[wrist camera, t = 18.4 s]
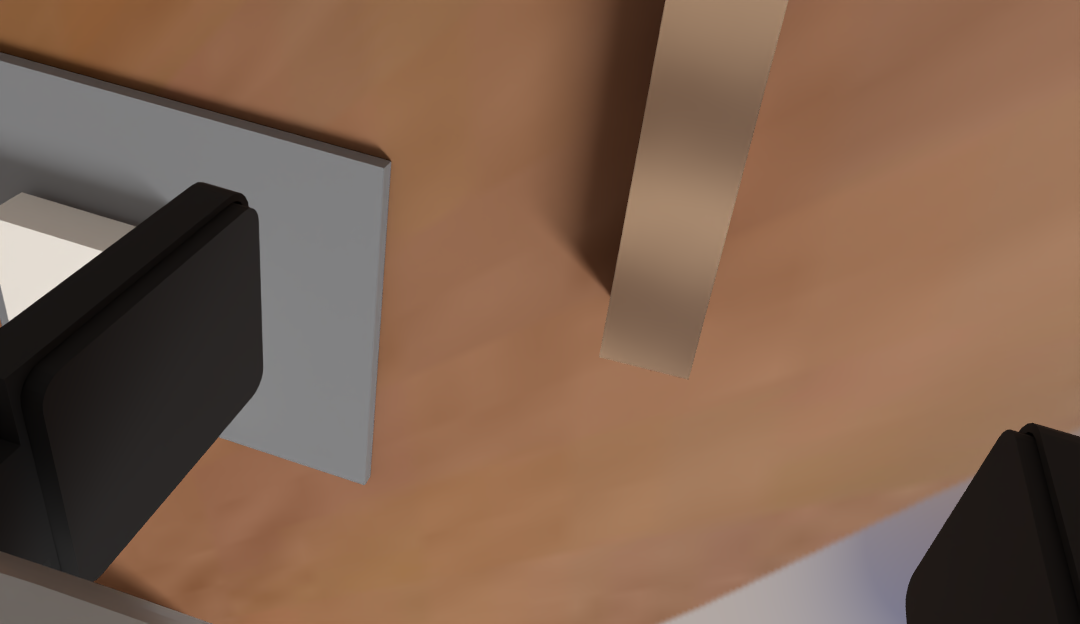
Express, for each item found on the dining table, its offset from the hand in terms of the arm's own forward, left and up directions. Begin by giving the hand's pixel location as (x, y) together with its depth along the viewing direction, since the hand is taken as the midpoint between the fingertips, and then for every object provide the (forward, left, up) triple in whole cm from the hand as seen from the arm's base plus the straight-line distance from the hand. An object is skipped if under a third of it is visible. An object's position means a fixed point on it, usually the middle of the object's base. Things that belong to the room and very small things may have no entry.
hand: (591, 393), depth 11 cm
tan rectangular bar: (+2, 0, -19) cm, 19 cm away
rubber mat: (+16, -19, -18) cm, 31 cm away
